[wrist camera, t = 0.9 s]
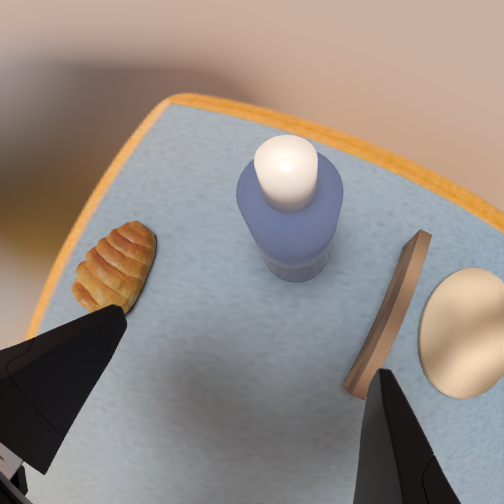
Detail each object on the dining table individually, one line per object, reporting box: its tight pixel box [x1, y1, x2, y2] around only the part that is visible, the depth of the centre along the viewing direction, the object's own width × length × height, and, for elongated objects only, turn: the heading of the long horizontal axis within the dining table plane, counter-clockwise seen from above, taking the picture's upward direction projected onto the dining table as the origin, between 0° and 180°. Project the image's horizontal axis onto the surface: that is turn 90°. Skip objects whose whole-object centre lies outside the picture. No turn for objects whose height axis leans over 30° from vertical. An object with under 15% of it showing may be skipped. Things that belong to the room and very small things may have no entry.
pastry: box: [71, 221, 156, 314], centre depth 24 cm, size 9×7×4 cm
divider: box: [343, 229, 432, 400], centre depth 18 cm, size 12×1×4 cm, turn 152°
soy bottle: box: [236, 135, 343, 282], centre depth 17 cm, size 5×5×12 cm
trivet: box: [418, 268, 504, 399], centre depth 18 cm, size 11×11×1 cm
